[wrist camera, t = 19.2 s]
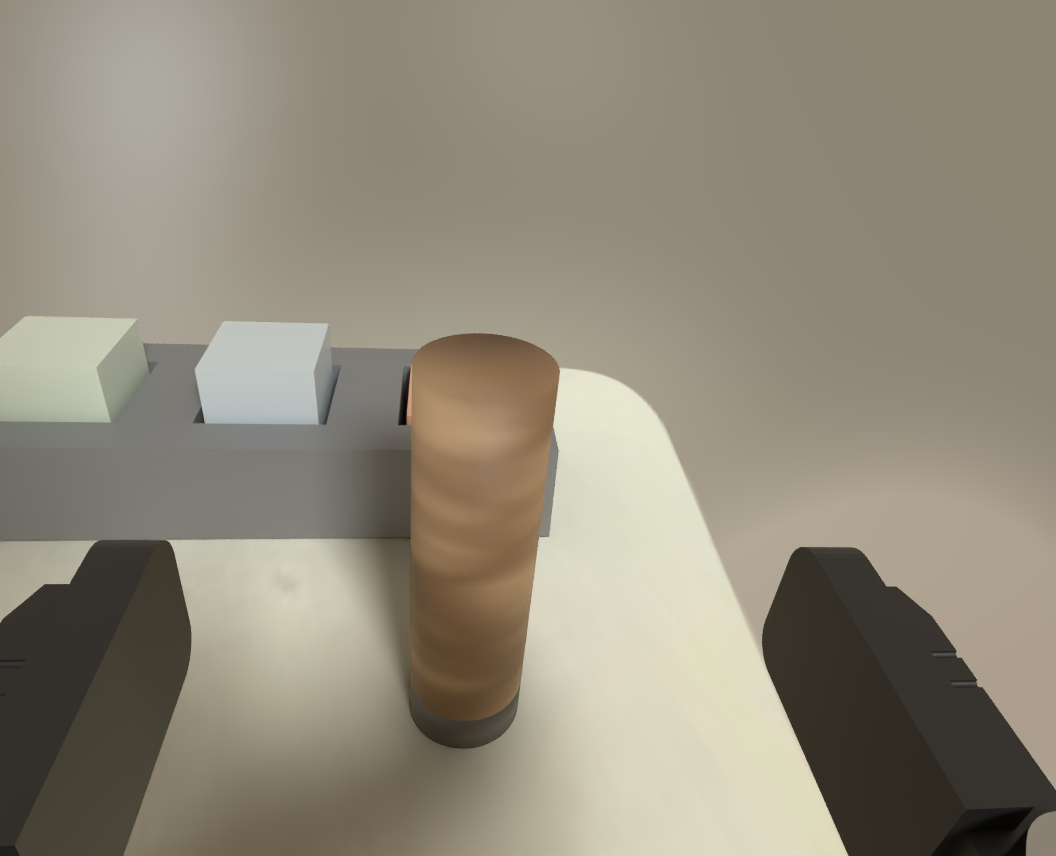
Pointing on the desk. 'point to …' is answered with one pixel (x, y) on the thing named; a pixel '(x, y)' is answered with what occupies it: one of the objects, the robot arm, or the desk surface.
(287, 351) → the grey-blue key
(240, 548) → the desk surface
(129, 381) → the sage key
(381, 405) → the key console
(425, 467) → the brown wooden cylinder
